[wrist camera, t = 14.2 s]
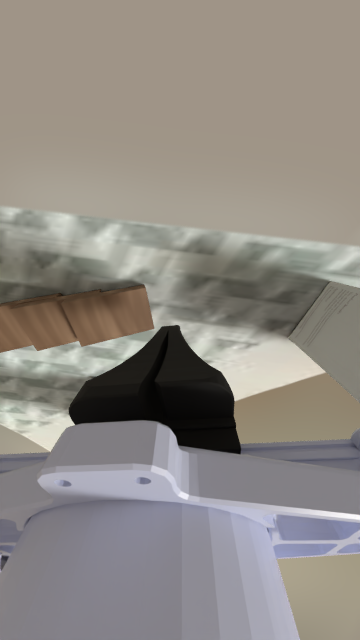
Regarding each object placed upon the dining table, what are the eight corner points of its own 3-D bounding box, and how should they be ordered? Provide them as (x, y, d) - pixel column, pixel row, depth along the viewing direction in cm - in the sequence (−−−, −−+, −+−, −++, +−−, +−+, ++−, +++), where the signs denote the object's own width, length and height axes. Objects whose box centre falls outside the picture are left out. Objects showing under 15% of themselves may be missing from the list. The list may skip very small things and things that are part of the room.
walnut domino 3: (145, 287, 17) (61, 303, 15) (154, 328, 19) (81, 346, 17) (143, 284, 18) (66, 298, 16) (152, 323, 20) (84, 339, 19)
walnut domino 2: (98, 292, 17) (10, 309, 15) (112, 332, 19) (37, 350, 18) (100, 289, 18) (19, 304, 17) (113, 326, 21) (43, 343, 19)
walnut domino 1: (55, 296, 17) (-36, 313, 16) (74, 335, 20) (-4, 353, 18) (60, 293, 19) (-23, 307, 17) (77, 329, 21) (6, 345, 19)
